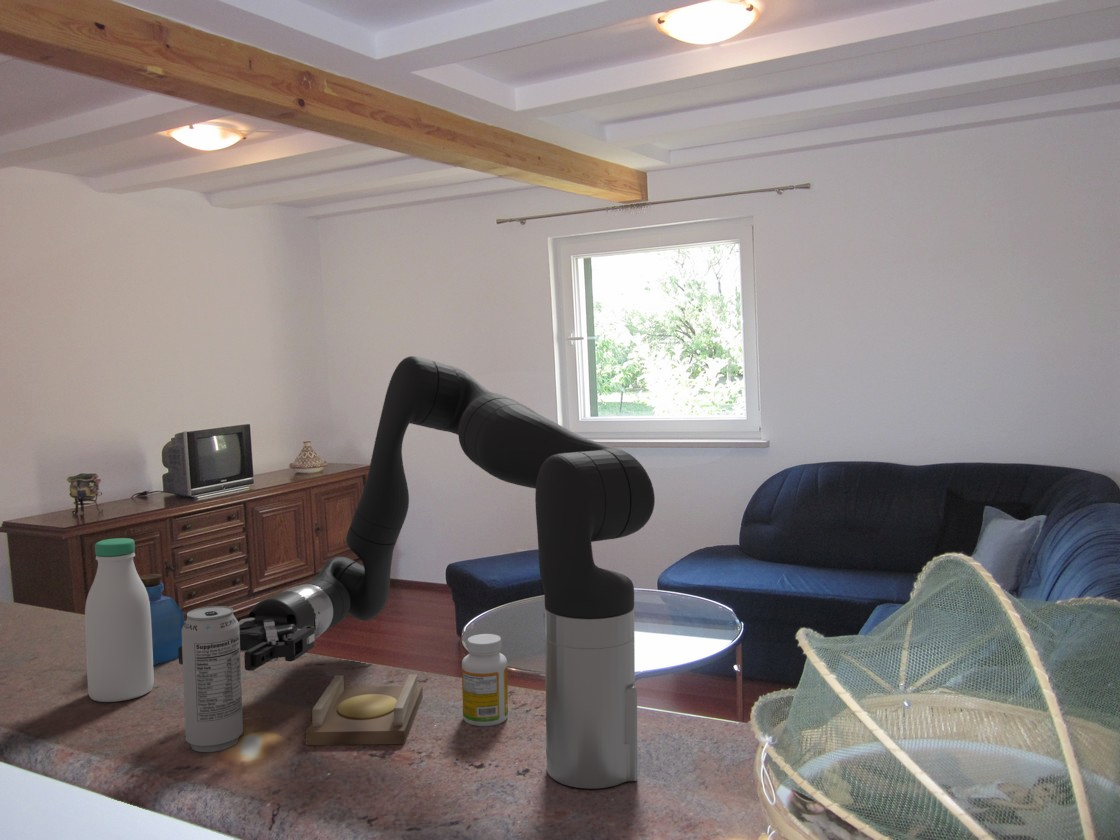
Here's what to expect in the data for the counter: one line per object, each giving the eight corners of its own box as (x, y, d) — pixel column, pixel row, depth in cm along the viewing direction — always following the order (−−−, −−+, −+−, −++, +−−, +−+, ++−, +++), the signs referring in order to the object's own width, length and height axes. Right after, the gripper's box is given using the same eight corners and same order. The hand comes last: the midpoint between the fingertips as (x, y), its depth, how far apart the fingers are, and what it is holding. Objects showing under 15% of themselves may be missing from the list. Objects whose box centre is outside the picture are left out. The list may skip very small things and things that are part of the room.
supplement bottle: (485, 706, 113) (483, 628, 112) (517, 716, 109) (516, 637, 109) (453, 720, 109) (451, 639, 108) (486, 731, 105) (484, 648, 105)
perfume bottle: (185, 655, 134) (182, 574, 133) (146, 667, 128) (142, 583, 128) (159, 648, 137) (156, 569, 136) (120, 660, 132) (117, 578, 131)
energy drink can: (235, 727, 107) (231, 601, 106) (249, 745, 102) (244, 613, 101) (181, 740, 104) (175, 610, 103) (192, 759, 99) (187, 622, 98)
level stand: (422, 697, 116) (422, 670, 116) (404, 743, 102) (404, 713, 102) (335, 698, 116) (335, 671, 116) (306, 745, 102) (305, 714, 102)
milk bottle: (164, 691, 119) (157, 539, 118) (102, 709, 113) (94, 549, 112) (139, 678, 124) (133, 532, 123) (79, 693, 119) (71, 541, 117)
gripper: (242, 587, 120) (158, 622, 104) (340, 593, 116) (269, 630, 100) (244, 643, 120) (161, 686, 105) (342, 651, 117) (271, 697, 101)
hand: (214, 659), depth 103 cm, fingers open, 8 cm apart
